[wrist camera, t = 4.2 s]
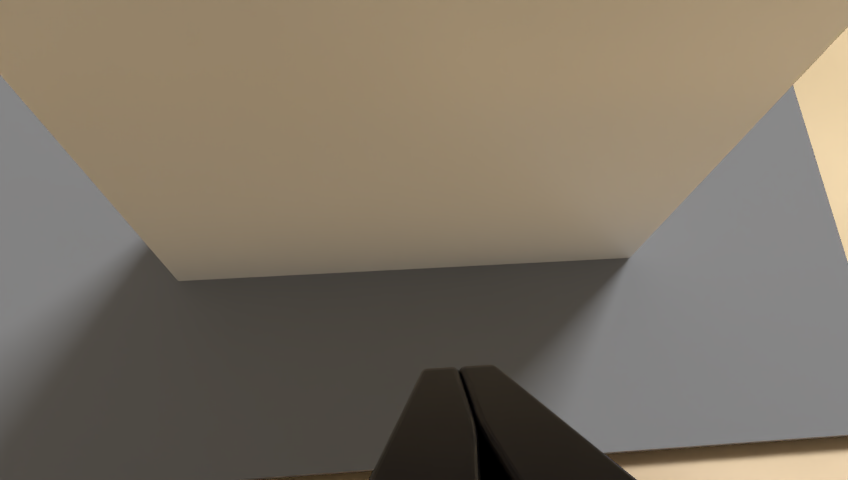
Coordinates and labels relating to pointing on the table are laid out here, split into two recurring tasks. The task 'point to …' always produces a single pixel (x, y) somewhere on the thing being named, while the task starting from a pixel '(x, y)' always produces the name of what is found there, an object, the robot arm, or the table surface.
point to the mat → (411, 330)
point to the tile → (402, 120)
